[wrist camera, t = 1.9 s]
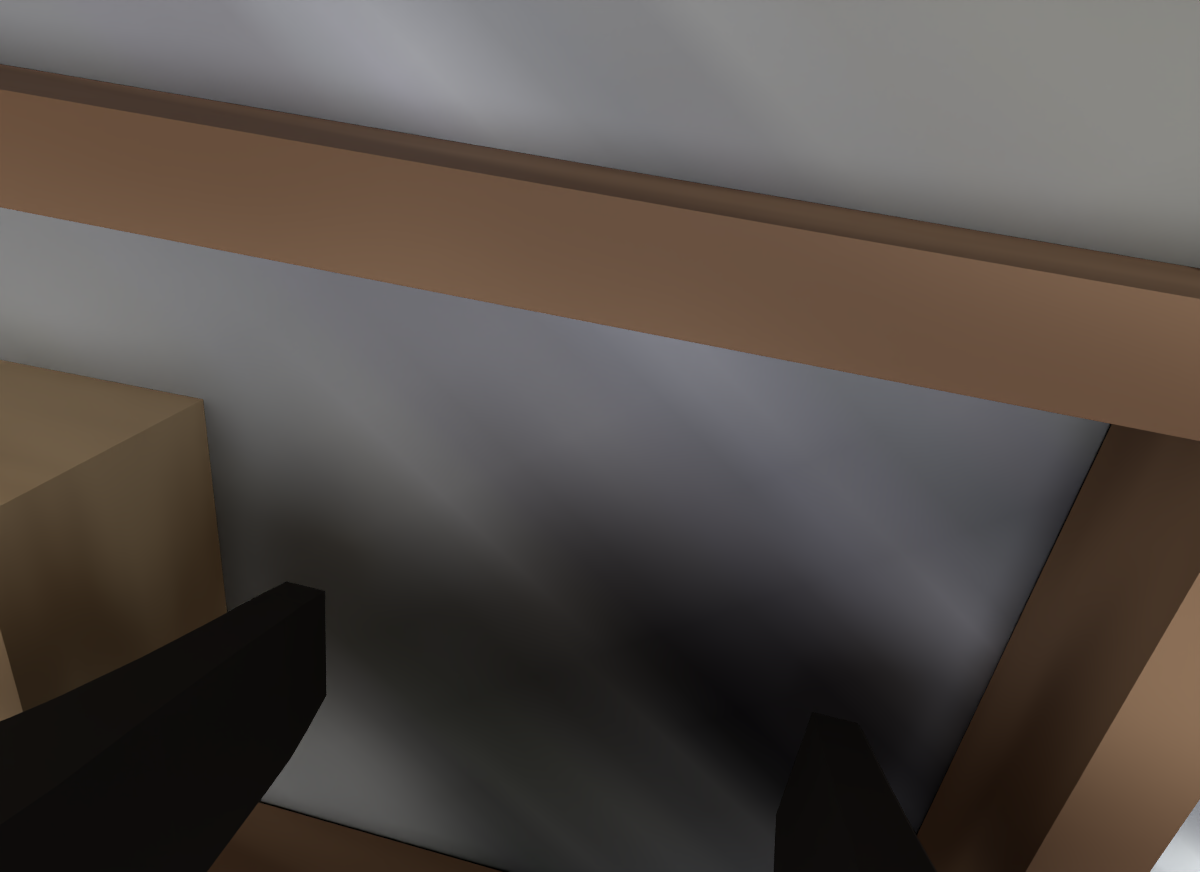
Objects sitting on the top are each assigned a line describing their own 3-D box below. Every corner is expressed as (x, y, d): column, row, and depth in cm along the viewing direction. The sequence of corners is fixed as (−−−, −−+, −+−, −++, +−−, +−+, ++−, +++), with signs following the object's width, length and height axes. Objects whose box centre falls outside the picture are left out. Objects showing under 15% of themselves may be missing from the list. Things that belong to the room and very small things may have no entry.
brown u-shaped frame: (898, 1026, 14) (924, 1198, 12) (-125, 729, 17) (-260, 825, 15) (1302, 285, 8) (1507, 352, 6) (-389, -3, 11) (-690, -31, 9)
